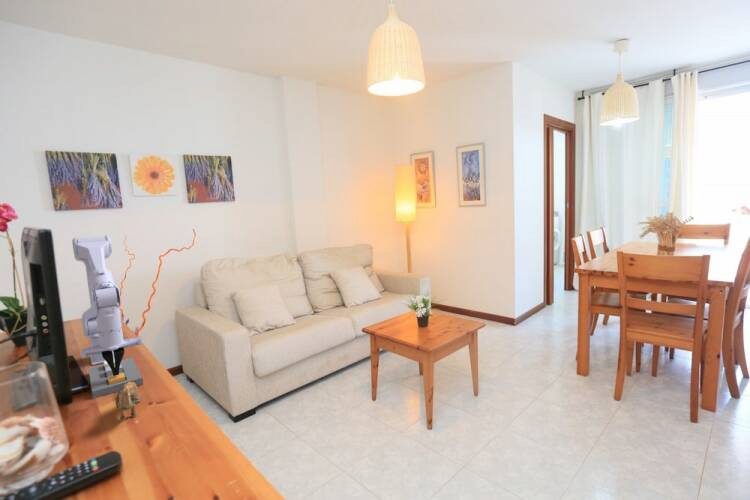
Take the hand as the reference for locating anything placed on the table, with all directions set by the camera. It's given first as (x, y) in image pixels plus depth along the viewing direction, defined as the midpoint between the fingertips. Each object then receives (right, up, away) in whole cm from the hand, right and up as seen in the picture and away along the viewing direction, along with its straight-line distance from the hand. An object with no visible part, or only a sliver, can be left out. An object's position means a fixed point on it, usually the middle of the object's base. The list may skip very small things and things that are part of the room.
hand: (115, 374), depth 113 cm
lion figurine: (+14, -5, -15) cm, 21 cm away
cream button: (-8, -2, +10) cm, 13 cm away
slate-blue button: (-4, -2, +5) cm, 7 cm away
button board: (-4, -3, +5) cm, 7 cm away
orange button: (0, -3, 0) cm, 3 cm away
